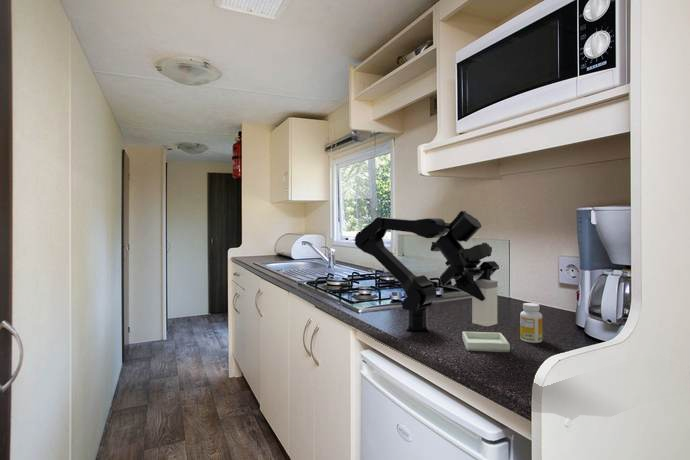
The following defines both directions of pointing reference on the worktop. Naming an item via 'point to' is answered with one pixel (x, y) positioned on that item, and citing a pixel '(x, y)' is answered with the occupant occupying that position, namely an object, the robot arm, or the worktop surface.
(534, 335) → the supplement bottle
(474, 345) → the tray
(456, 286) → the robot arm
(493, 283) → the block
